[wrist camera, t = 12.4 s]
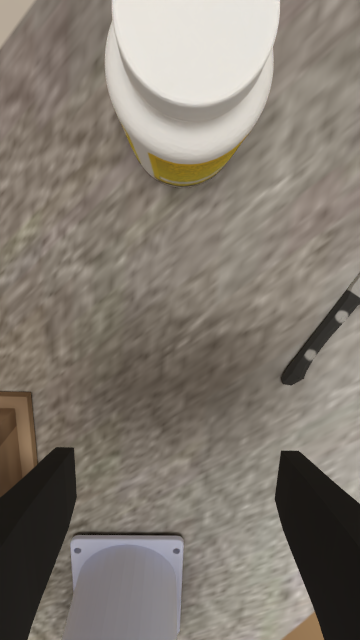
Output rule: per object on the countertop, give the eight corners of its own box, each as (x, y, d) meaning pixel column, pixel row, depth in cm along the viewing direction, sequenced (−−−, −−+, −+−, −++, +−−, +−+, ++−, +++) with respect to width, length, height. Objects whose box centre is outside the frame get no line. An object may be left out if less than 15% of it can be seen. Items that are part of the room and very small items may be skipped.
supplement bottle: (256, 132, 17) (359, 13, 8) (183, 210, 18) (194, 189, 9) (182, 45, 16) (197, -217, 7) (108, 132, 17) (29, 11, 8)
